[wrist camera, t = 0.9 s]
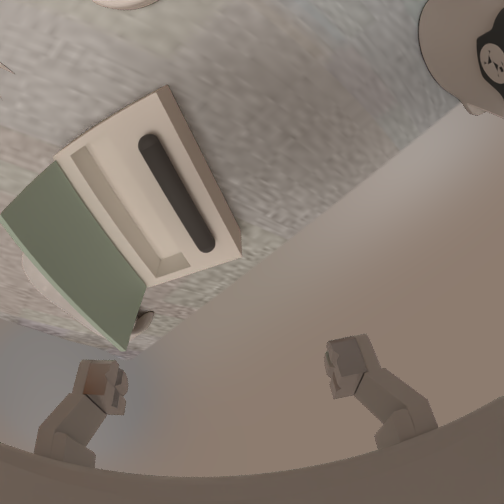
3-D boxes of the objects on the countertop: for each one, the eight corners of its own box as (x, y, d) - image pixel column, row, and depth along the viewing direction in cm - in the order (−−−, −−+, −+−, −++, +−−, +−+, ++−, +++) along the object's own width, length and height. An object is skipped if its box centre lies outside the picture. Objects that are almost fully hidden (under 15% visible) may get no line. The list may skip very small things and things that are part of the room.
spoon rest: (23, 258, 40) (4, 289, 34) (43, 213, 35) (19, 245, 29) (132, 329, 51) (124, 363, 46) (168, 300, 46) (162, 338, 41)
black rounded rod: (156, 127, 25) (150, 134, 23) (218, 241, 33) (218, 253, 32) (137, 137, 25) (131, 144, 23) (202, 247, 34) (201, 259, 32)
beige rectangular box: (167, 84, 26) (155, 92, 23) (241, 231, 39) (242, 256, 35) (73, 140, 29) (52, 157, 25) (154, 261, 41) (147, 287, 37)
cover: (0, 214, 18) (-4, 217, 18) (125, 350, 29) (120, 351, 30) (55, 160, 25) (51, 163, 25) (146, 286, 36) (141, 287, 37)
